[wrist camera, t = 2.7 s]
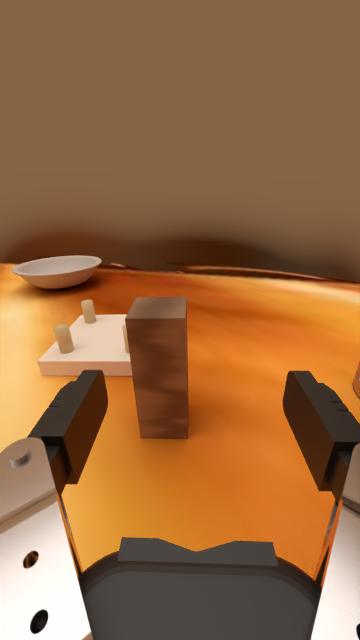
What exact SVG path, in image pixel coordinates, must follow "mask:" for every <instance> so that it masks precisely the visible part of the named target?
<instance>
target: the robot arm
mask: <svg viewBox="0 0 360 640" xmlns="http://www.w3.org/2000/svg"><path fill="white" fill-rule="evenodd" d="M353 387H354V390H355V392H356V393H357V395H358V396H359V397H360V362H359V365H358V368H357V371H356V374H355V378H354V381H353ZM107 406H108V396H107V390H106V385H105V379H104V374H103V371H102V370H83V371H82V373H81V374H80V376H79V377H78V379H77V380H76V381H71V382H69V383H68V384H67V385H65V386H64V387H63V388H62V389H60V391H59V392H58V394H57V395H56V397H55V398H54V400H53V401H52V402H51V404H50V405H49V408H47V410H46V411H45V412H44V414H43V415H42V417H41V418H40V420H39V421H38V422H37V424H36V425H35V427H34V428H33V430H32V431H31V432H30V434H29V435H28V437H27V438H24V439H21V440H18V441H16V442H14V443H12V444H11V445H9V446H8V447H7V448H5V449H4V450H3V451H2V452H1V453H0V640H360V424H359V423H358V421H357V420H356V419H355V418H354V416H353V415H352V414H351V412H349V411H348V408H347V407H346V406H345V404H344V403H342V400H341V399H340V398H339V397H338V395H337V394H336V393H335V391H333V390H332V389H330V388H329V387H328V386H326V385H325V384H324V383H318V382H317V381H316V380H315V378H314V377H313V375H312V374H311V373H310V372H309V371H289V372H288V375H287V380H286V386H285V391H284V397H283V409H284V413H285V416H286V418H287V420H288V422H289V425H290V427H291V429H292V431H293V434H294V436H295V438H296V440H297V443H298V445H299V447H300V449H301V452H302V454H303V456H304V458H305V460H306V463H307V465H308V467H309V469H310V472H311V474H312V476H313V478H314V481H315V483H316V485H317V487H318V490H319V491H332V493H333V495H334V497H335V502H334V504H333V508H332V512H331V516H330V519H329V523H328V527H327V531H326V535H325V538H324V542H323V546H322V550H321V554H320V557H319V561H318V564H317V567H316V570H315V573H314V577H313V579H312V578H311V577H310V576H309V575H308V574H306V573H305V572H304V571H303V570H301V569H300V568H298V567H297V566H295V565H294V564H292V563H290V562H288V561H286V560H284V559H282V558H280V557H277V556H276V554H275V550H274V546H273V542H254V541H233V542H230V543H226V544H223V545H219V546H216V547H213V548H209V549H206V550H203V551H199V552H195V551H191V550H189V549H186V548H183V547H180V546H178V545H175V544H172V543H169V542H167V541H164V540H161V539H158V538H126V537H122V540H121V545H120V549H119V551H117V552H114V553H111V554H109V555H107V556H105V557H103V558H101V559H100V560H98V561H96V562H95V563H94V564H92V565H91V566H90V567H88V568H87V569H86V570H85V571H84V572H83V569H82V566H81V562H80V559H79V556H78V553H77V549H76V546H75V542H74V539H73V535H72V531H71V528H70V524H69V520H68V517H67V513H66V509H65V506H64V502H63V499H62V495H61V494H62V492H63V489H64V487H65V485H66V484H77V483H78V481H79V478H80V476H81V473H82V471H83V468H84V466H85V463H86V461H87V458H88V456H89V453H90V451H91V448H92V446H93V443H94V441H95V438H96V436H97V433H98V431H99V429H100V426H101V424H102V421H103V419H104V416H105V414H106V411H107Z"/></svg>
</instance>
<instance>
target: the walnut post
mask: <svg viewBox="0 0 360 640" xmlns="http://www.w3.org/2000/svg"><path fill="white" fill-rule="evenodd" d="M125 324H126V331H127V339H128V346H129V354H130V361H131V369H132V376H133V384H134V391H135V399H136V406H137V414H138V421H139V429H140V436H141V438H165V439H188V405H189V404H188V353H187V301H186V297H140V298H136V300H135V301H134V303H133V305H132V307H131V309H130V310H129V312H128V314H127V316H126V317H125Z"/></svg>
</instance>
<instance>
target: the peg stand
mask: <svg viewBox="0 0 360 640" xmlns="http://www.w3.org/2000/svg"><path fill="white" fill-rule="evenodd" d="M81 305H82V310H83V315H81V316H80V317H79V318H78V319H77V320H76V321H75V322H74V323H73V324H72V325H71V326H70V327H69V325H68V324H59V325H56V326H55V327H54V331H55V335H56V338H57V341H56V342H55V343H54V344H53V345H52V346H51V348H50V349H49V350H48V351H47V352H46V353H45V354H44V355H43V356H42V357H41V358H40V359H39V360H38V361H37V362H38V365H39V368H40V371H41V374H42V376H80V374H81V373H82V371H83V370H102V371H103V374H104V376H132V369H131V361H130V354H129V346H128V339H127V331H126V324H125V317H126V316H127V315H95V311H94V306H93V301H92V300H83V301H81Z"/></svg>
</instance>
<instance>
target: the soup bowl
mask: <svg viewBox="0 0 360 640" xmlns="http://www.w3.org/2000/svg"><path fill="white" fill-rule="evenodd" d="M100 263H101V259H100V258H97V257H92V256H61V257H52V258H45V259H39V260H34V261H30V262H27V263H23V264H20V265H18V266H16V267H14V268H13V269H12V272H13V273H14V274H16V275H20V276H21V277H22V278H23V279H24V280H26V281H27V282H29V283H30V284H32V285H34V286H37V287H40V288H47V289H59V288H67V287H71V286H75V285H78V284H81V283H83V282H85V281H86V280H88V279H89V278H90V277H91V276H92V275H93V273H94V272H95V270H96V267H97V266H98V265H99V264H100Z"/></svg>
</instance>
